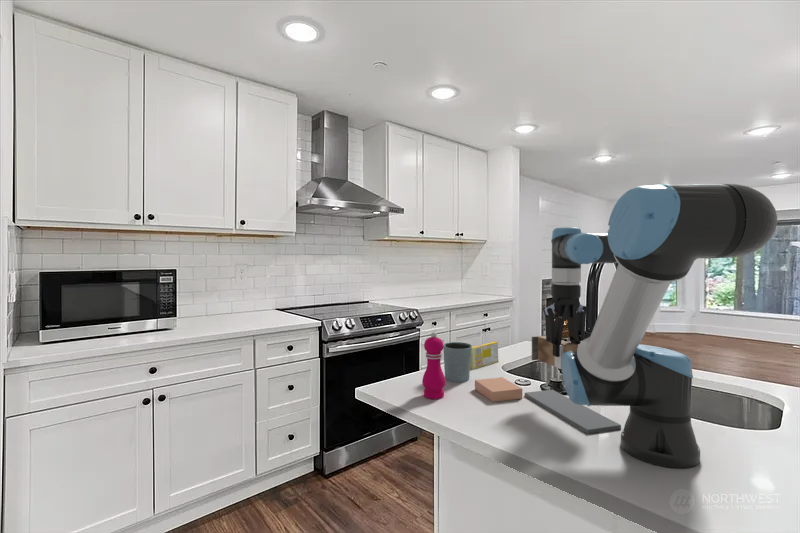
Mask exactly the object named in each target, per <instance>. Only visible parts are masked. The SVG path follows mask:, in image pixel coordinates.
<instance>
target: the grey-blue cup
mask: <svg viewBox="0 0 800 533" xmlns="http://www.w3.org/2000/svg"><path fill="white" fill-rule="evenodd" d="M472 347H473V346H472V345H471V344H470V343H468V342H462V341H461V342H459V341H452V342H450V341H449V342H446V343H443V350H442V351H443V363H444V365H443V366H444V368H443V369H444V377H445V381H448V382H451V381H452V383H465V382H468V381H469V380H470V374H471V369H470V363H471V352H472Z"/></svg>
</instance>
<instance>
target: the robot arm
mask: <svg viewBox="0 0 800 533" xmlns="http://www.w3.org/2000/svg"><path fill="white" fill-rule="evenodd" d="M777 225H778V214H777V212H776V208H775V206H774V204H773V203H772V201H771V199H769V198H768V197H767V195H765V194H764V193H762V192H761V191H759V190H757V189H755V188H752V187H750V186H746V185H742V184H736V183H718V184H715V183H714V184H713V183H712V184H672V185H670V184H667V183H655V184H652V185H640V186H636V187H635V186H634V187H633V188H631V189H628V190H627V191H625V192H624V193H623V194H622V195H621V196H620V197H619V198H618V200H617V201H616V203H615V204H614V206H613V208H612V210H611V213H610V216H609V219H608V224H607V226H609V228H608V230H607V232H606V233H600V232H599V233H598V232H597V233H596V232H595V233H594V232H593V233H592V232H591V233H590V232H582V230H581V228H579V227H577V226H576V227H572V226H571V227H566V226H565V227H555V228H554V229H552V234H551V242H550V243H551V282H552V285H551V297H552V301H551V304H550V305H549V306H544V307H543V308H542V311H543V313H544V319H545V320H544V321H545V322H544V324H545V336H546V341H547V342H549V343H552V344H553V356H555V366H554V368H557V369H559V370H562V379H563V384H564V388H565V392H566V394H567V396H568V398H570V400H571V401H572V402H573V403H575V404H578V405H583V406H586V407H591V406H598V407H607V406H608V407H609V406H611V407H620V406H621V407H623V406H624V407H629V413H628V416H627V418H626V421H625V424H624V428H623V429H622V431H621V434H620V445H621V448H622V449H623V450H624V451H625V453H627V454H628V455H630V456H633V457H634V458H637V459H639V460H640V461H644V462H646V463H649V464H653V465H656V466H659V467H660V466H661V467H667V468H675V469H688V468H692V467H696V466H697V465H699V464H700V462H701V448H700V446H699V444H698V442H697V439H696V435H695V431H694V429H693V426H692V393H693V391H692V389H693V388H692V386H693V385H692V384H693V378H694V375H693V365H692V361H691V358H690V357H689V356H688V355H686V354H684V353H681V352H679V351H676V350H673V349H668V348H664V347H660V346H654V345H647V344H641V341H642V339H643V337H644V335H645V334H646V332H647V329H648V327H649V326H650V324H651V322H652V320H653V318H654V316H655V314H656V312H657V310H658V309H659V308H660V307H659V306H660V305H661V302H662V300H663V298H664V297H665V295H666V293H667V290H668V289H669V287H670V285H671V283H672V282H677V281H679V280H682V279H684V278H685V277H686V276H687V275H688V274H689V272H690V270H691V268H692V267H693V265H694V262H695V261H696V260H698V259H725V258H726V259H729V258H737V257H742V256H746V255H750V254H751V253H754V252H756V251H758V250H760V249H761V248H763V247H764V246H765V245H766V244H767V243H768V242H769V241H770V240H771V239H772V237H773V236H774V234H775V232H776V229H777ZM589 264H590V265H591V264H617V267H616V268H615V269H616V270H615V272H614V274H613V277H612V278H611V279H612V280H611V282H610V284H609V287H608V289H607V293H606V296H605V298H604V300H603V303H602V306H601V308H600V310H599V313H598V314H597V318H596V321H595V324H594V325H593V328H592V331H591V334H590V336H589V337H586V338H585V336H586V323H587V321H586V320H587V313H588V310H589V306H587V305H583V304H581V302H580V298H581V295H582V294H581V290H582V288H581V285H580V283H581V282H582V265H589ZM565 322H566V323H567V324H566V325H567V331H568V332H567V333H568V338H569V342H570V343H573V344H576V345H579V346H578V348H577V351H576V352H572V351H569V352H565V353H564V354H563V345H561V340H563V333H564V329H565Z"/></svg>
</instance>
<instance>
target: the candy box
mask: <svg viewBox="0 0 800 533" xmlns="http://www.w3.org/2000/svg"><path fill="white" fill-rule="evenodd" d="M498 343H499V342H498V341H491V342H488V343H483V344H480V345H479V344H478V345H475V346H472V352H471V363H470V370H476V369H479V368H481V367H482V366H483V367H485V366H489V365H492V364H495V363H499V344H498ZM475 368H476V369H475Z"/></svg>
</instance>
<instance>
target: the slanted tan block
mask: <svg viewBox="0 0 800 533" xmlns="http://www.w3.org/2000/svg"><path fill="white" fill-rule="evenodd" d="M474 390H476V391H477V392H478V393H480V394H481V395H482V396H484V397H485V398H487V399H488V400H489V401H491V402H493V403H496V402H503V401H512V400H520V399H521V400H522V399H523V388H522V387H521V386H519V385H516V384H515V383H513V382H511V381H510V380H508V379H506V378H504V377H503V376H502V377H492V378H482V379H480V378H479V379H474Z"/></svg>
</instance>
